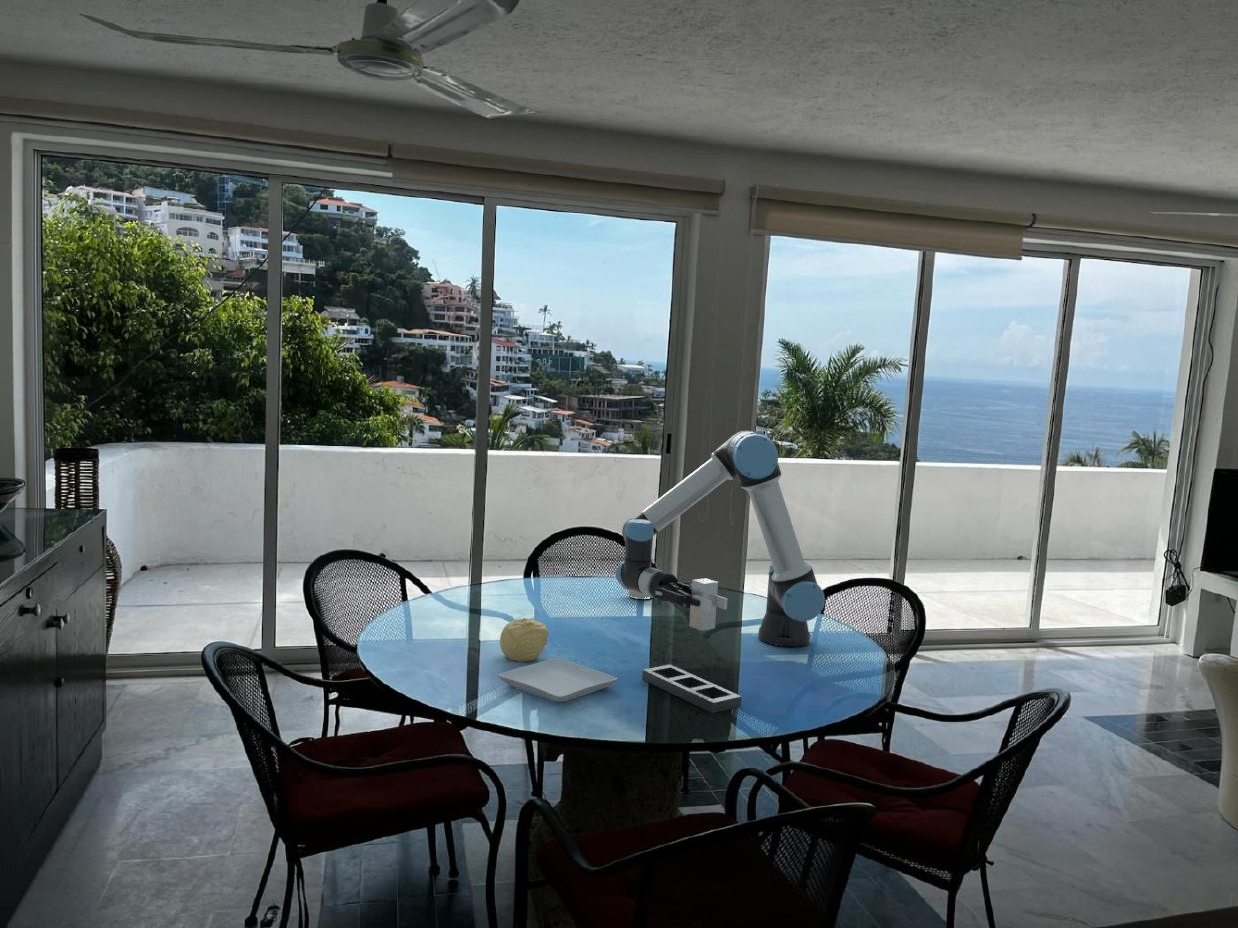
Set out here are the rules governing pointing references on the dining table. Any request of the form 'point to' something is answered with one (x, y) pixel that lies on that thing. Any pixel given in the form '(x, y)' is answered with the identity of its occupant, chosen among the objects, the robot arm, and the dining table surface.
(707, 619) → the grey upright post
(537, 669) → the salad plate
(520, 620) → the yellow round lump
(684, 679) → the rack rail
